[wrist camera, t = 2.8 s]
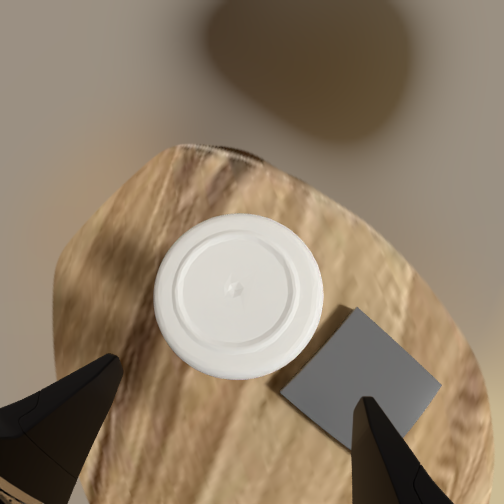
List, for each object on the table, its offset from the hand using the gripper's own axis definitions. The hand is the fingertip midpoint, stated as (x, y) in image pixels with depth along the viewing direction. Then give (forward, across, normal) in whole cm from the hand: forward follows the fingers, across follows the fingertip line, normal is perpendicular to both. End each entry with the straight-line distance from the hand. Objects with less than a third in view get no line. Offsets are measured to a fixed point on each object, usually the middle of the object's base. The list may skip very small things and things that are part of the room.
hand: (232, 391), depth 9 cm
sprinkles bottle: (+10, 0, +5) cm, 11 cm away
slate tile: (+7, -8, +8) cm, 13 cm away
